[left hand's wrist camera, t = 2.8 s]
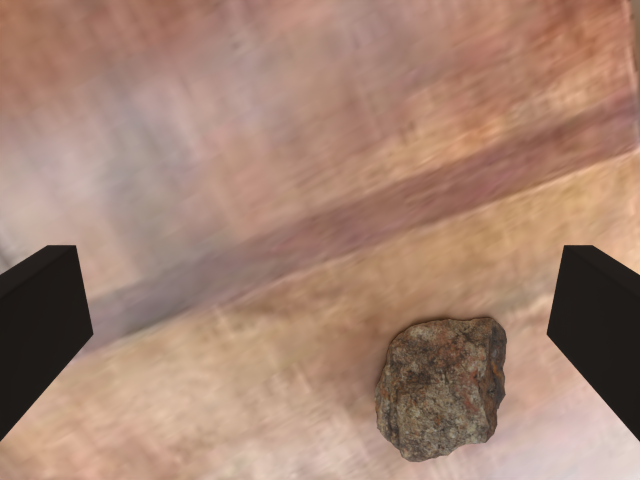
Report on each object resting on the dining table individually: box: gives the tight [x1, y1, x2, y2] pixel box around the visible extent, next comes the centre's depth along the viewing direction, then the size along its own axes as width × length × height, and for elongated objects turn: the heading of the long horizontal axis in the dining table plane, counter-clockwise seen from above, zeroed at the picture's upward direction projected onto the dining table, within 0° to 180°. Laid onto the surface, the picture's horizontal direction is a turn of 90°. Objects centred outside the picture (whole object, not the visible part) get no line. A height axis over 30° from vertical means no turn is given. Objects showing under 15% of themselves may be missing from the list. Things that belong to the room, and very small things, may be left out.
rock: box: [374, 317, 507, 462], centre depth 43 cm, size 14×9×10 cm
